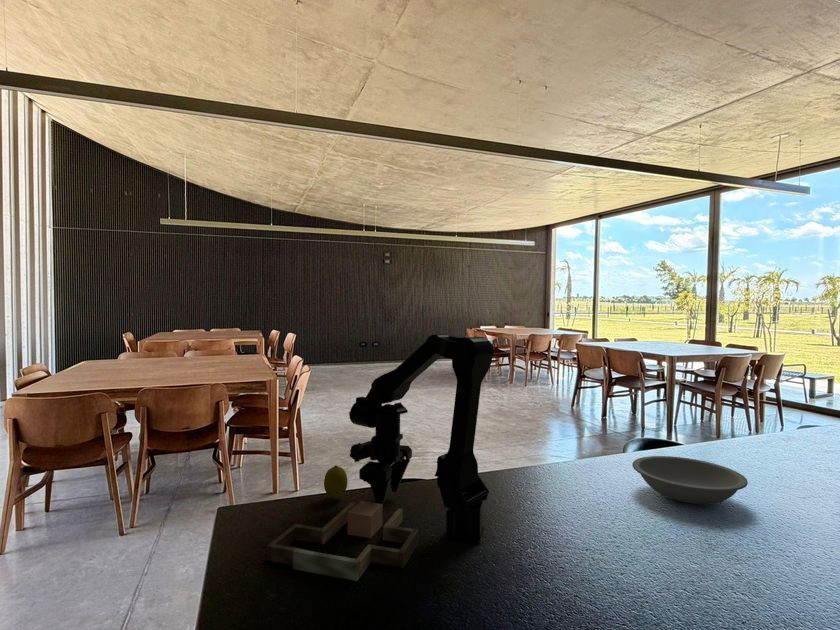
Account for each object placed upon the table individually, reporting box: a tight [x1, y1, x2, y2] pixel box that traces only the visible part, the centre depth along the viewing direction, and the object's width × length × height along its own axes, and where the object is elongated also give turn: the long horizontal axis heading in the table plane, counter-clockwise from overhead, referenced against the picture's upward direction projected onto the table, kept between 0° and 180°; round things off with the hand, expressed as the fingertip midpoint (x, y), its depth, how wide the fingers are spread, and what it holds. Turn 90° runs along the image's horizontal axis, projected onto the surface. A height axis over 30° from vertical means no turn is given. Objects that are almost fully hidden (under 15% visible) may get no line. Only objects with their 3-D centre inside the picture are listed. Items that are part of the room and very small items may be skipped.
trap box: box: [266, 501, 420, 582], centre depth 85 cm, size 24×23×3 cm
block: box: [347, 500, 384, 539], centre depth 91 cm, size 5×6×4 cm
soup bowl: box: [632, 455, 749, 505], centre depth 108 cm, size 24×24×7 cm
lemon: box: [323, 465, 348, 500], centre depth 106 cm, size 6×6×8 cm
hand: (387, 498), depth 102 cm, fingers open, 9 cm apart
